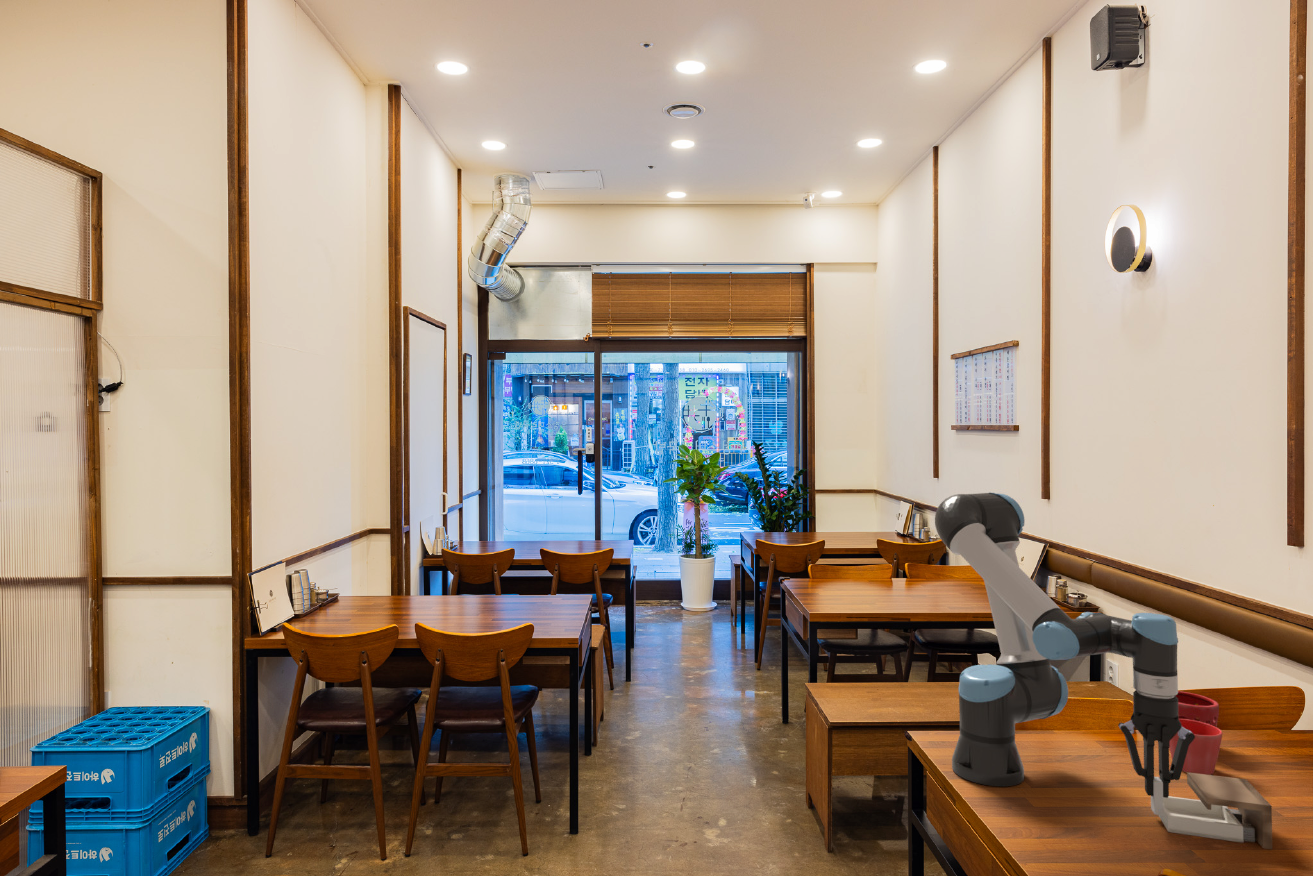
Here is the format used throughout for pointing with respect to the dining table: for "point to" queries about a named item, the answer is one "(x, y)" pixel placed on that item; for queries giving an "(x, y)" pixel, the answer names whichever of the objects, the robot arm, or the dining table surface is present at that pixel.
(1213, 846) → the dining table surface
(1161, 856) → the dining table surface
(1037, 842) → the dining table surface
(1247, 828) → the small stepped grey block
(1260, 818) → the shelf
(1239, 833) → the tray
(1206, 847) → the dining table surface
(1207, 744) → the flower pot
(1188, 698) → the plant pot
